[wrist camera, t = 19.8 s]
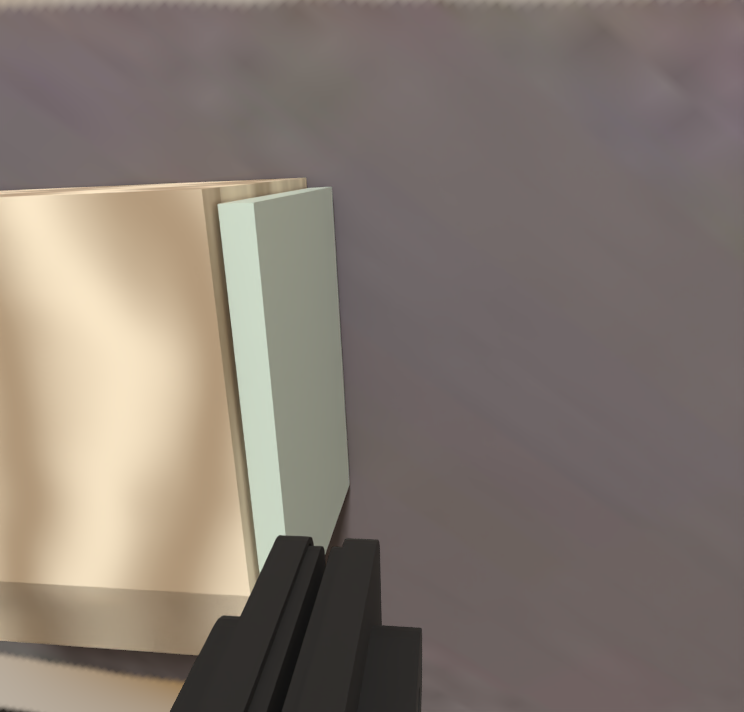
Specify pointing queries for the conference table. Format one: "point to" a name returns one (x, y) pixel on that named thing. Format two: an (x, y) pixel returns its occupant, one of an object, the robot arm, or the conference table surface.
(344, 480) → the mint green drawer
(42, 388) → the beige brown striped box
